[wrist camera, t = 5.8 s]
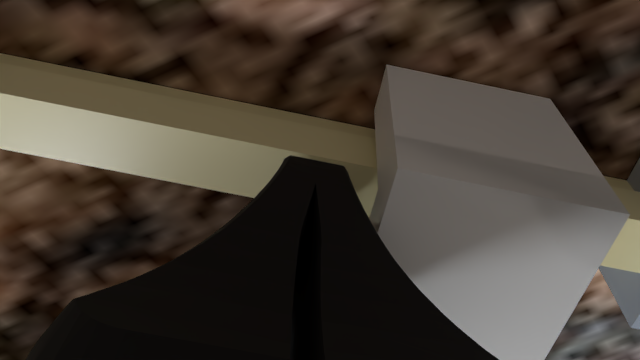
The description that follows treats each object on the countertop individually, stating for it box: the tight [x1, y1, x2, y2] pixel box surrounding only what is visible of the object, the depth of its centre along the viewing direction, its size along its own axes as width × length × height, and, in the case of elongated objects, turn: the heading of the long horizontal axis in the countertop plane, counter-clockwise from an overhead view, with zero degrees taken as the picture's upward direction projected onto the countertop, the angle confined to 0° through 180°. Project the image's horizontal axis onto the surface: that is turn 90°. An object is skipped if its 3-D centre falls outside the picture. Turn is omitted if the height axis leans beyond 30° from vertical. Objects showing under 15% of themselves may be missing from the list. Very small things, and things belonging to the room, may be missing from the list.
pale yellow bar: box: [0, 53, 640, 273], centre depth 14 cm, size 1×23×2 cm, turn 79°
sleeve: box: [369, 64, 630, 360], centre depth 13 cm, size 5×4×5 cm
